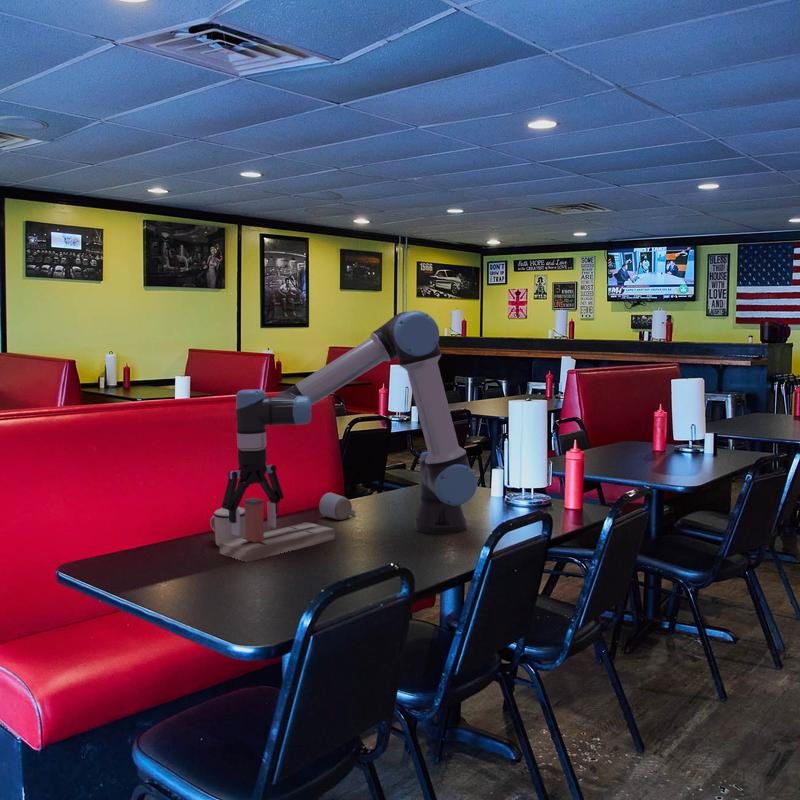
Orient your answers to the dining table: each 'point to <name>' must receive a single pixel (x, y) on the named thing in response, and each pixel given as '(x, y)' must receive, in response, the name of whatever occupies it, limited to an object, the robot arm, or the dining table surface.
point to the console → (277, 542)
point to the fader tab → (254, 519)
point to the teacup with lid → (226, 525)
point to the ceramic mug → (335, 506)
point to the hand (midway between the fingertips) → (254, 530)
